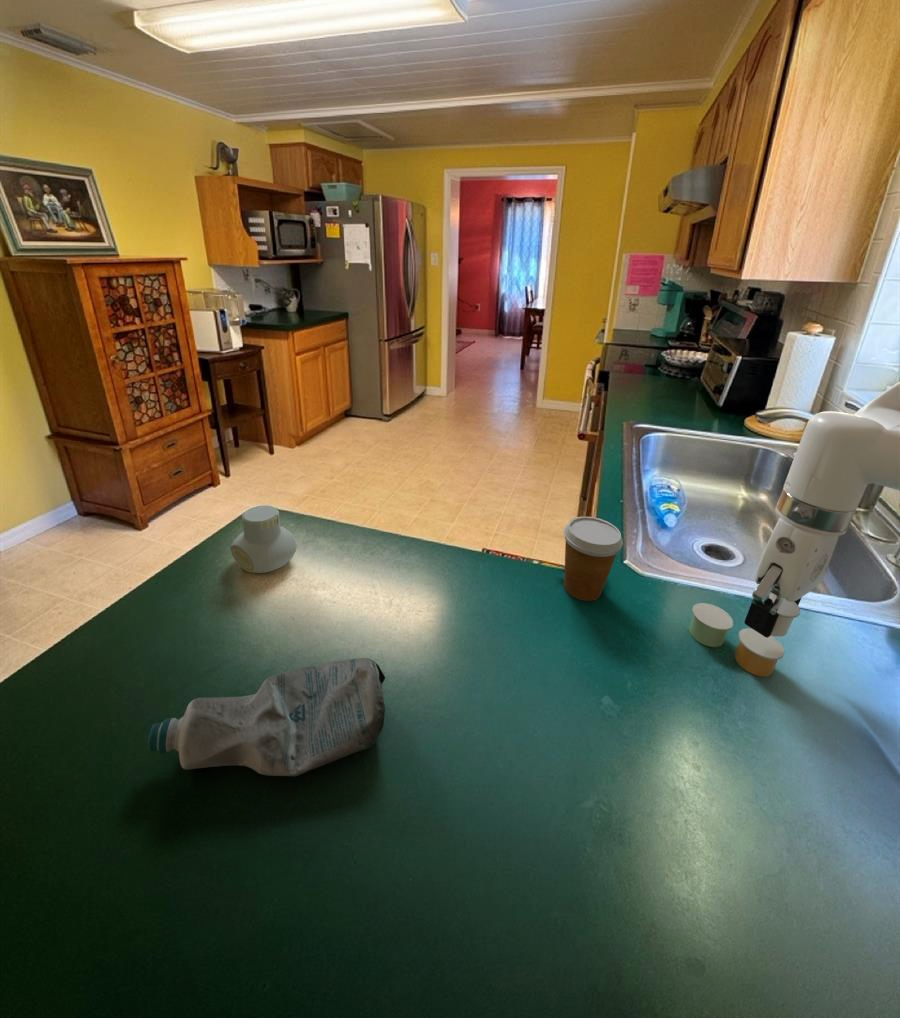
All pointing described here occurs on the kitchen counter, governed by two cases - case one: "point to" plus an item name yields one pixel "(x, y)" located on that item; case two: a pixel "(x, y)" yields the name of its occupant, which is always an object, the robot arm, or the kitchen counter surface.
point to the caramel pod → (758, 652)
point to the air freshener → (263, 541)
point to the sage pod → (710, 624)
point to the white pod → (784, 616)
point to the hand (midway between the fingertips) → (768, 621)
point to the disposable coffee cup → (589, 556)
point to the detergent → (282, 721)
